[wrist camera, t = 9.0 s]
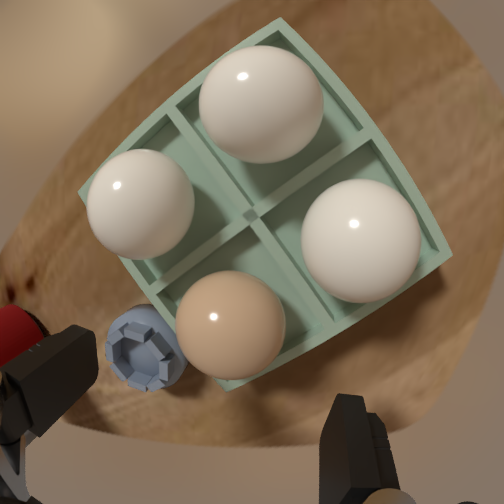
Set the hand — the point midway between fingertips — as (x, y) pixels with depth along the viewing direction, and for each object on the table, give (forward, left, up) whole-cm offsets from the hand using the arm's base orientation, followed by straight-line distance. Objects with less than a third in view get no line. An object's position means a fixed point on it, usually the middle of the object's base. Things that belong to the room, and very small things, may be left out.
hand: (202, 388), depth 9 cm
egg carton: (+3, +3, -8) cm, 9 cm away
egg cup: (-7, +1, -8) cm, 10 cm away
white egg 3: (+6, 0, -6) cm, 9 cm away
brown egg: (0, 0, -6) cm, 6 cm away
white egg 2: (+6, +6, -6) cm, 11 cm away
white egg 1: (0, +6, -6) cm, 9 cm away
